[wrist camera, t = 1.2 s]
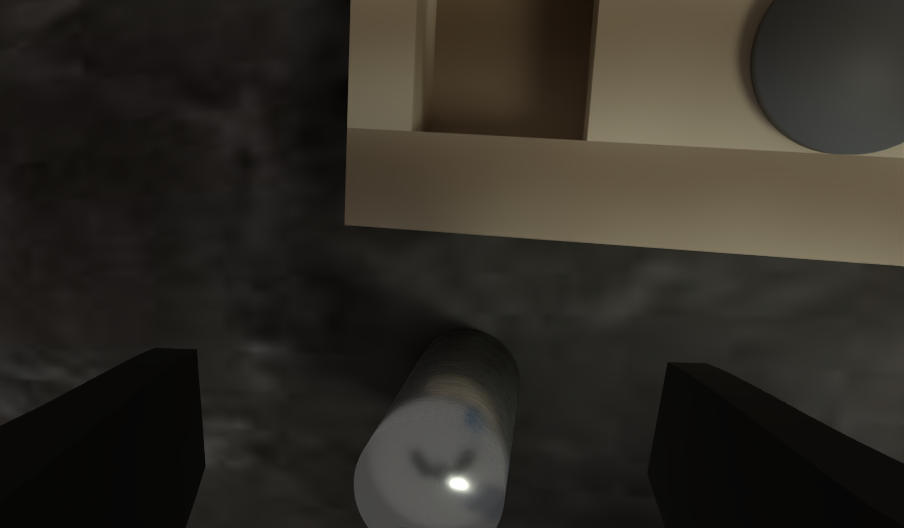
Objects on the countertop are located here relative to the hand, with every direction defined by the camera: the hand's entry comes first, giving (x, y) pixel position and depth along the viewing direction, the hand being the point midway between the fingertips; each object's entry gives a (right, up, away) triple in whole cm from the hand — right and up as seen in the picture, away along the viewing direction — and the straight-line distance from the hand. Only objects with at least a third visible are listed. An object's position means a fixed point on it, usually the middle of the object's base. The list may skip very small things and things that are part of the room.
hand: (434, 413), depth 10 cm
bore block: (+6, +8, +8) cm, 13 cm away
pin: (+1, -1, +11) cm, 11 cm away
